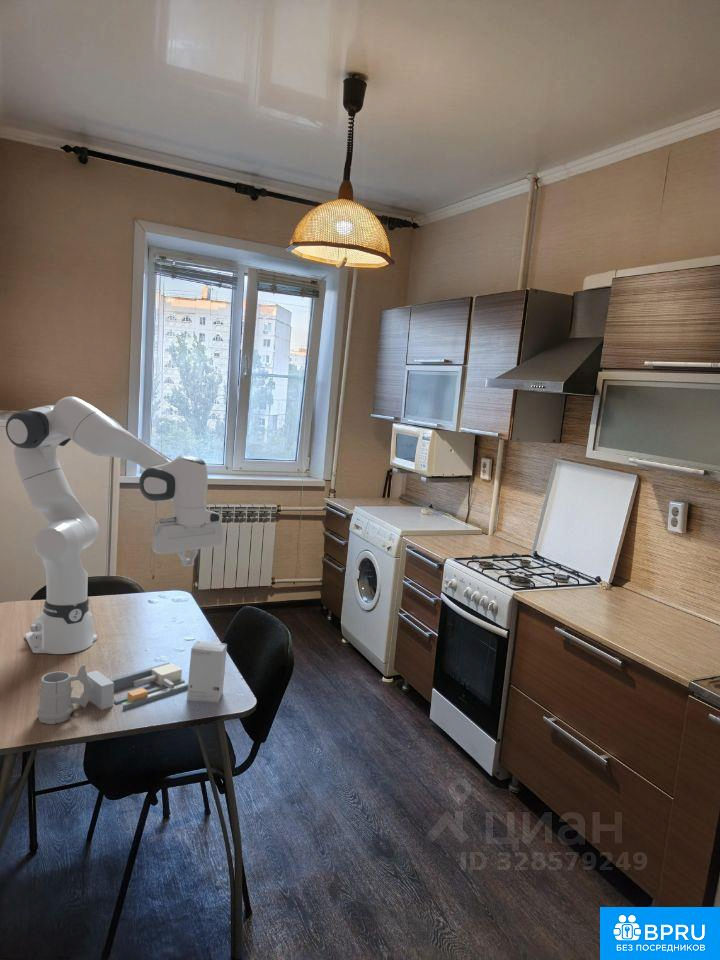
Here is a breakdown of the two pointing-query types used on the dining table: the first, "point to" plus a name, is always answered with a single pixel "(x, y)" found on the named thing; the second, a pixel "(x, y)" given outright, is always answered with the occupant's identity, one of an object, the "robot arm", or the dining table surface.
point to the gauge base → (105, 687)
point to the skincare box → (206, 671)
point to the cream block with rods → (162, 676)
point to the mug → (61, 695)
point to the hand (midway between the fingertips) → (187, 565)
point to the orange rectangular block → (137, 694)
